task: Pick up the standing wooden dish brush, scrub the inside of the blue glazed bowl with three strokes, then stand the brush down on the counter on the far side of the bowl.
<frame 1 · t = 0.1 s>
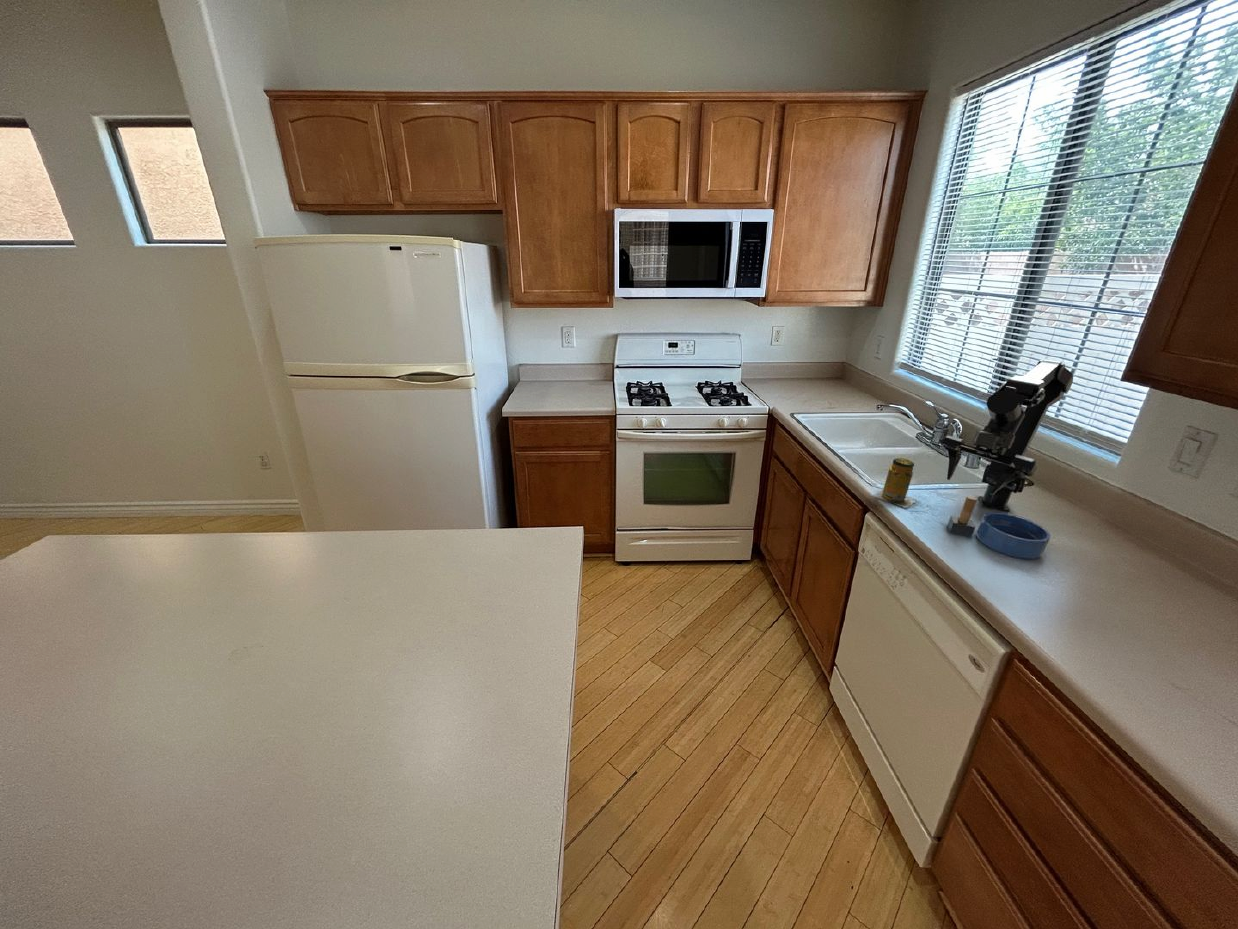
hand: (969, 486, 114), 15 cm above the counter, tool tilted 30°, fingers open, 9 cm apart
condiment: (895, 500, 139), on the counter
bowl: (1007, 544, 118), on the counter
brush: (959, 531, 124), on the counter
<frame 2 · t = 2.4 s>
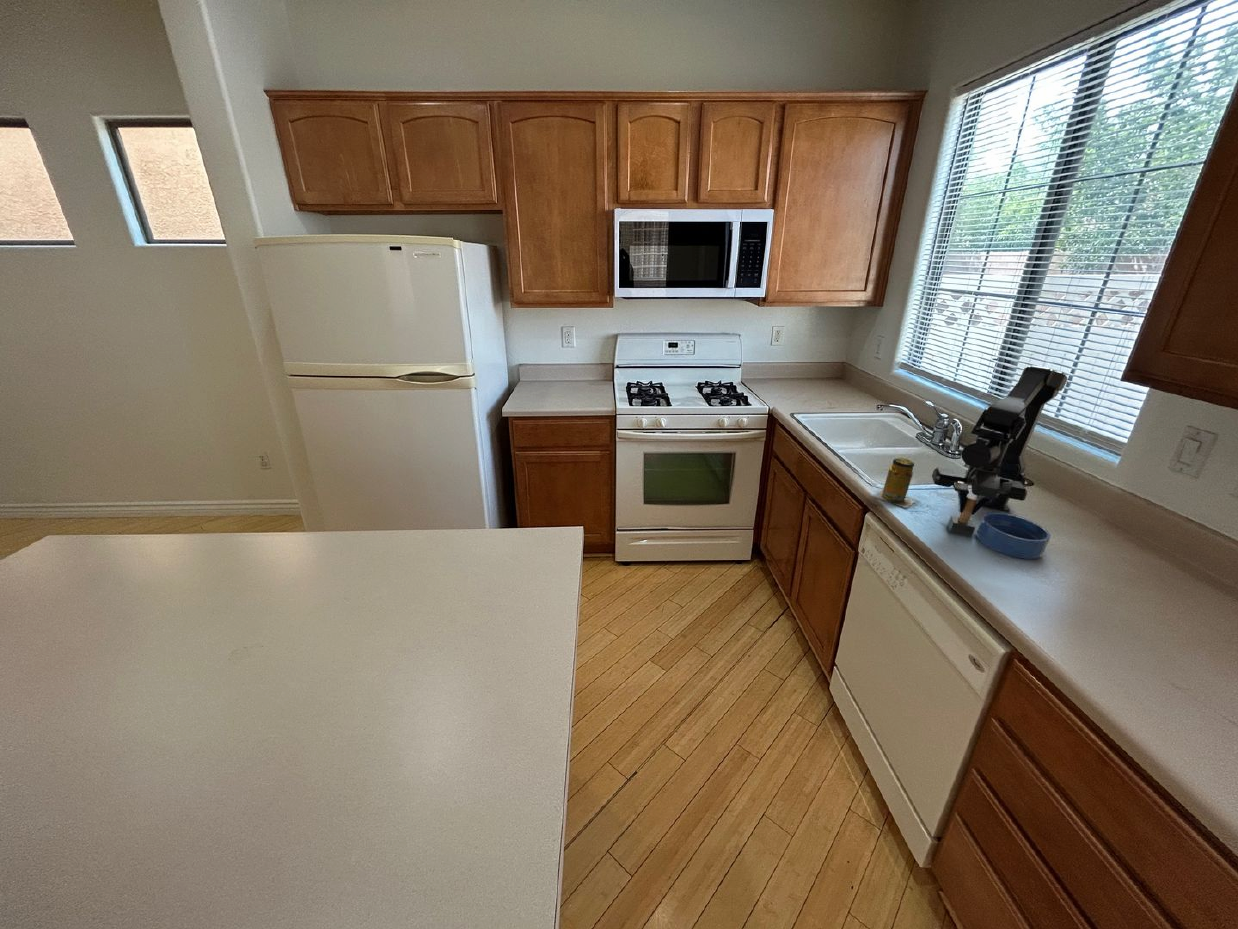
hand: (966, 512, 122), 6 cm above the counter, tool pointing down, fingers closed on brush, 2 cm apart
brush: (959, 531, 124), on the counter, touching gripper
everything else where it was.
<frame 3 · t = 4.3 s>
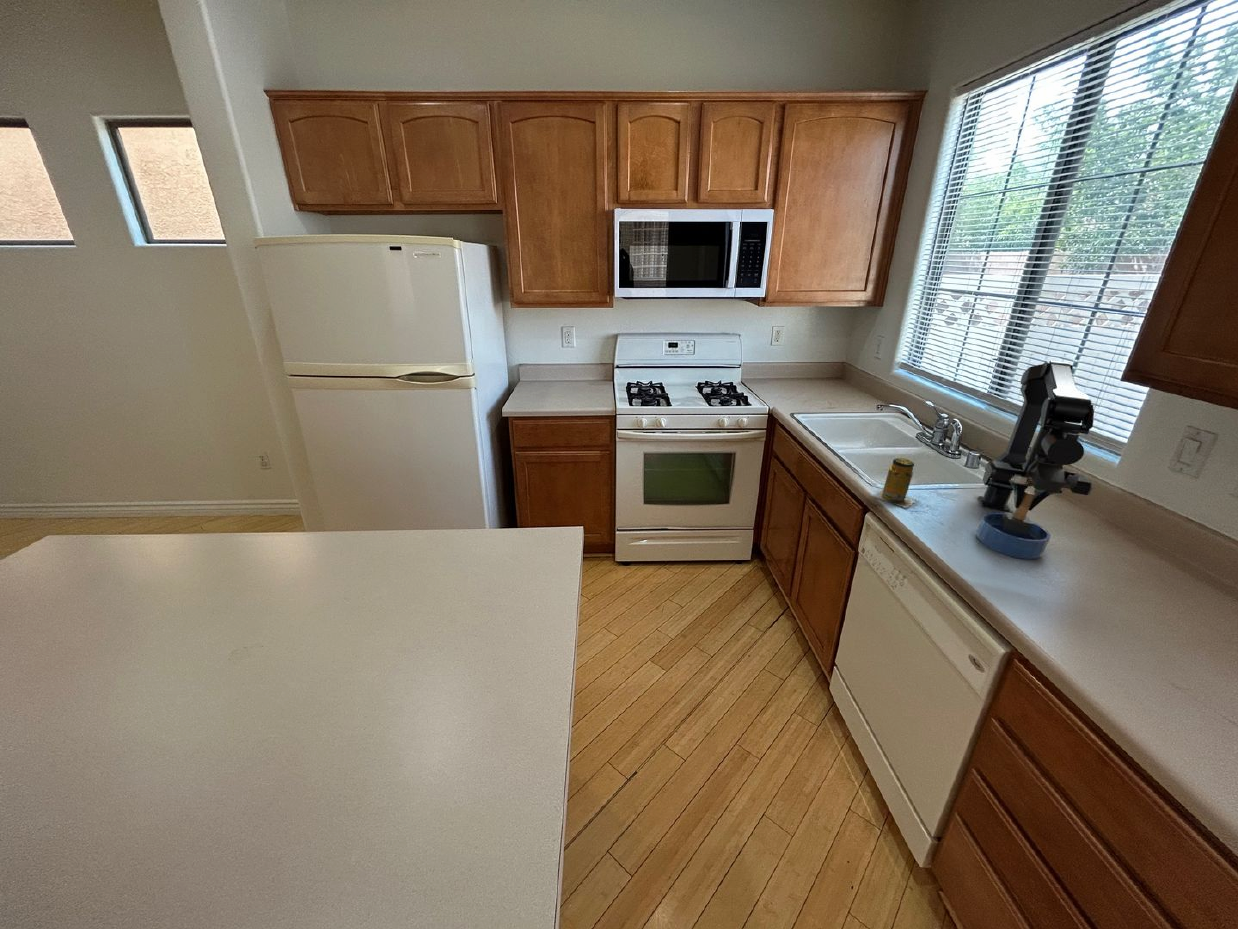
hand: (1022, 508, 114), 10 cm above the counter, tool pointing down, fingers closed on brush, 2 cm apart
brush: (1013, 528, 117), point 5 cm above the counter, touching gripper
everything else where it was.
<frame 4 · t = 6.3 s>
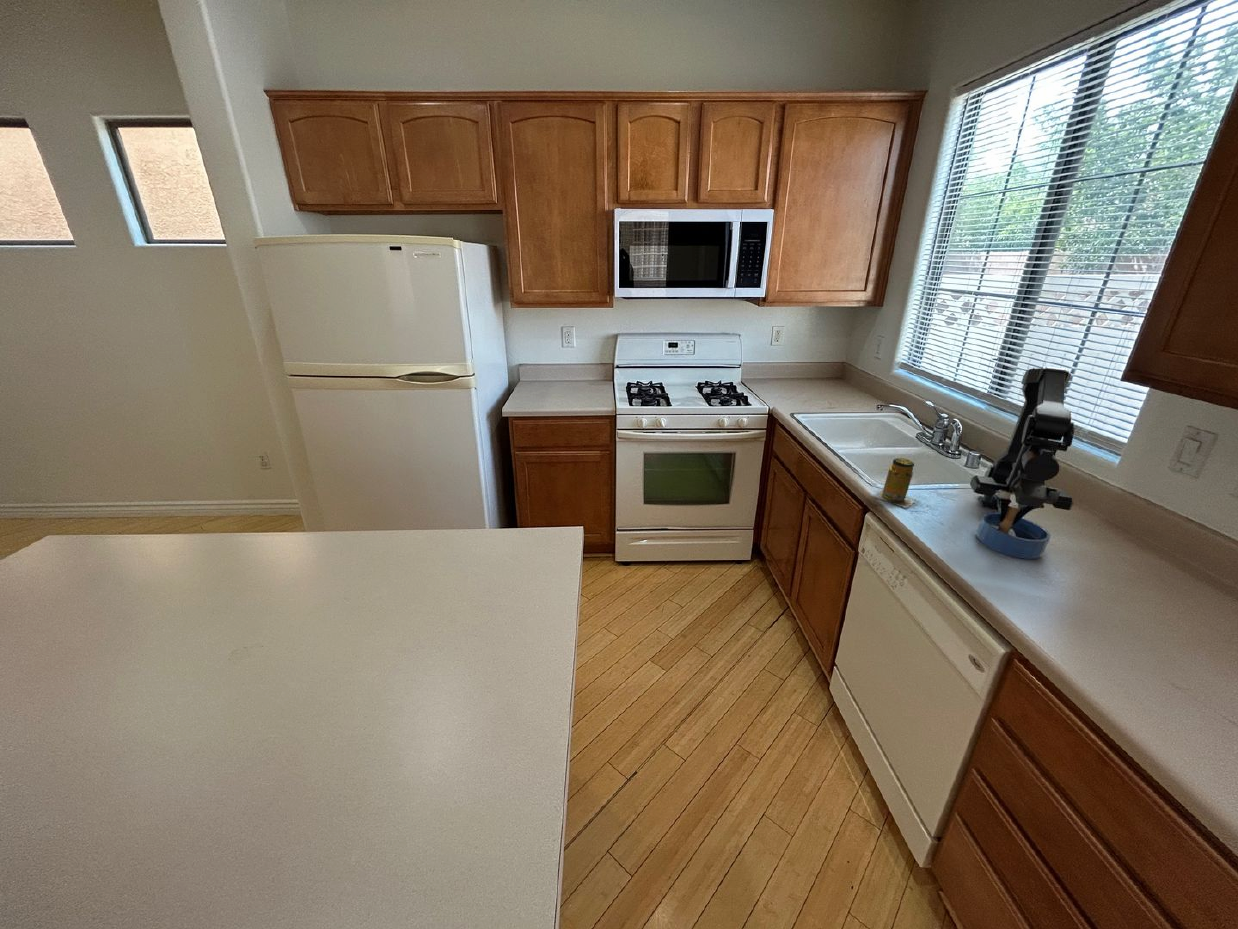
hand: (1006, 522, 117), 6 cm above the counter, tool pointing down, fingers closed on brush, 2 cm apart
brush: (998, 540, 119), point 1 cm above the counter, touching bowl, gripper
everything else where it was.
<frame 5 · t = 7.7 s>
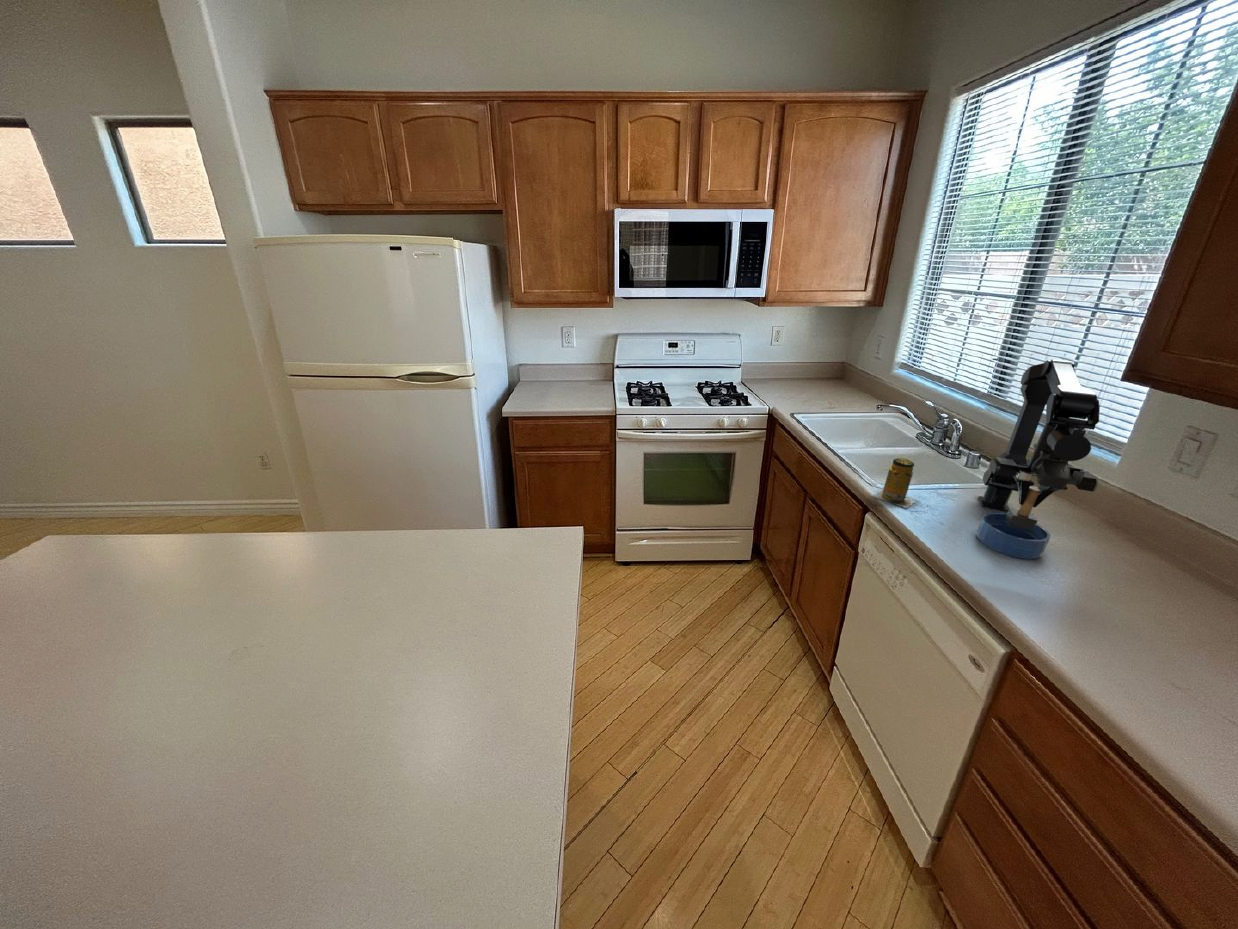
hand: (1026, 505, 113), 12 cm above the counter, tool pointing down, fingers closed on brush, 2 cm apart
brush: (1018, 524, 116), point 6 cm above the counter, touching gripper
everything else where it was.
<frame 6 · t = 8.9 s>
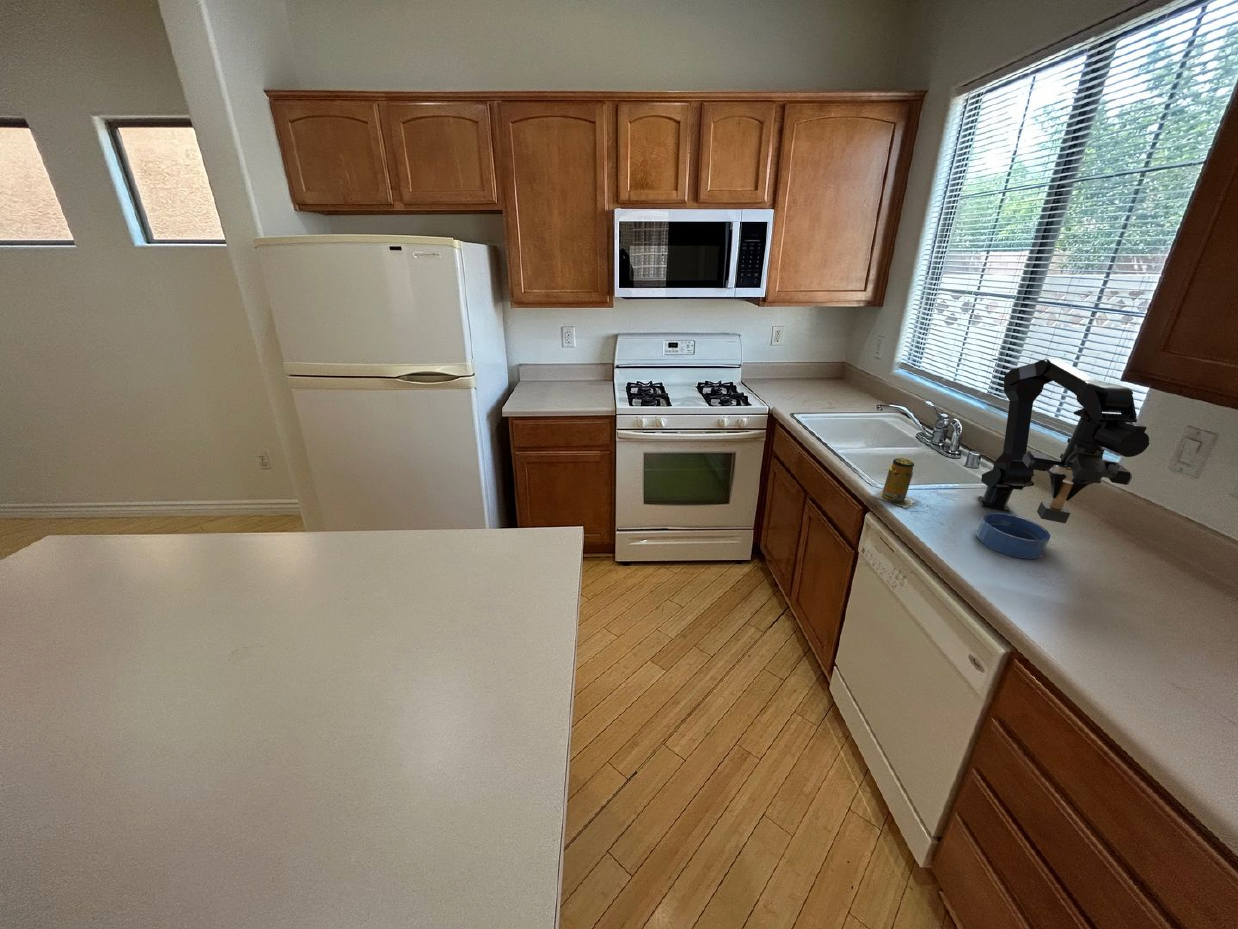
hand: (1059, 498, 116), 12 cm above the counter, tool pointing down, fingers closed on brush, 2 cm apart
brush: (1050, 517, 118), point 7 cm above the counter, touching gripper
everything else where it was.
when the fingers open (5 cm above the counter, at t = 10.7 s): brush stays where it is, on the counter.
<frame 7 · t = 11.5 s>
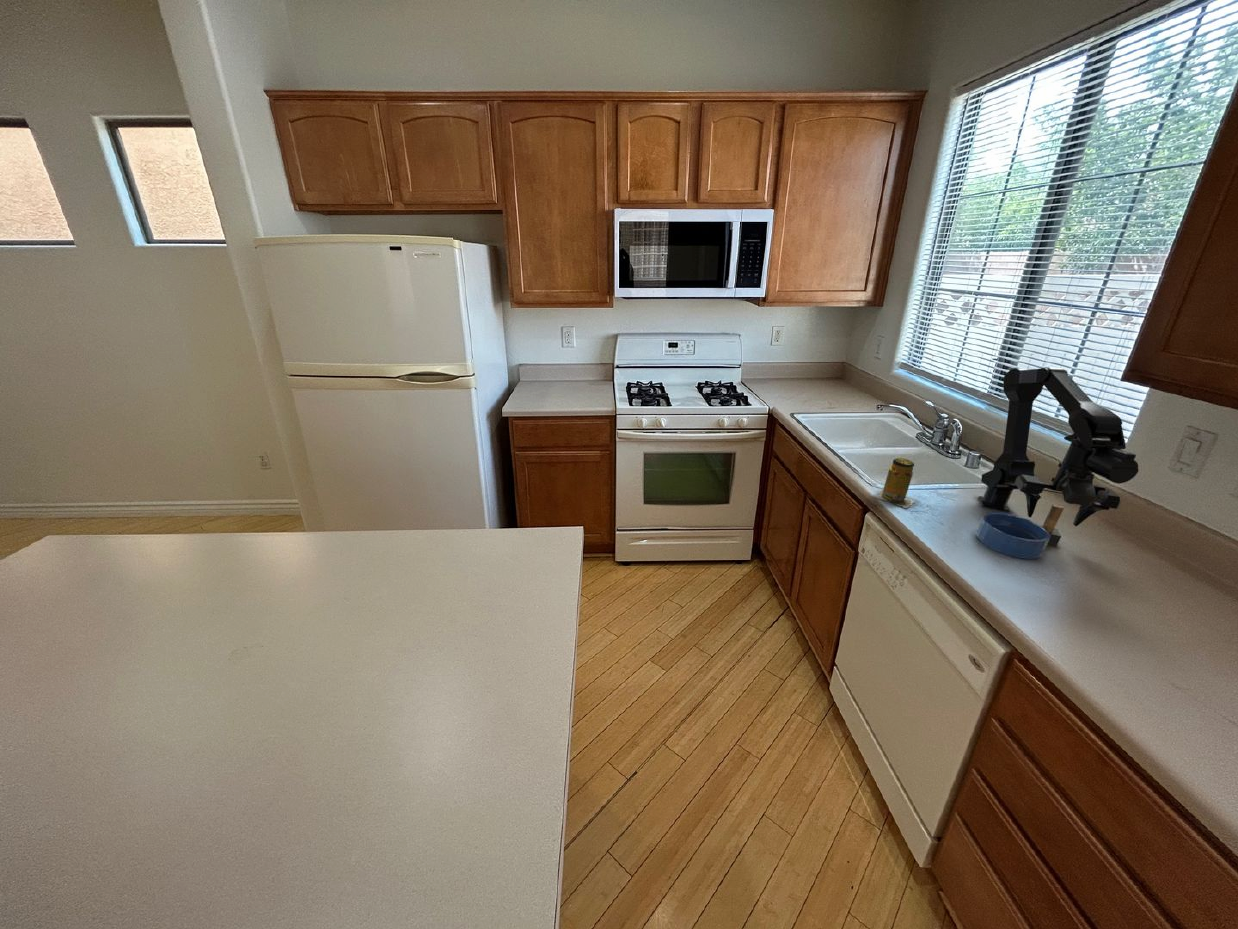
hand: (1051, 520, 119), 6 cm above the counter, tool pointing down, fingers open, 9 cm apart
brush: (1042, 539, 121), on the counter
everything else where it was.
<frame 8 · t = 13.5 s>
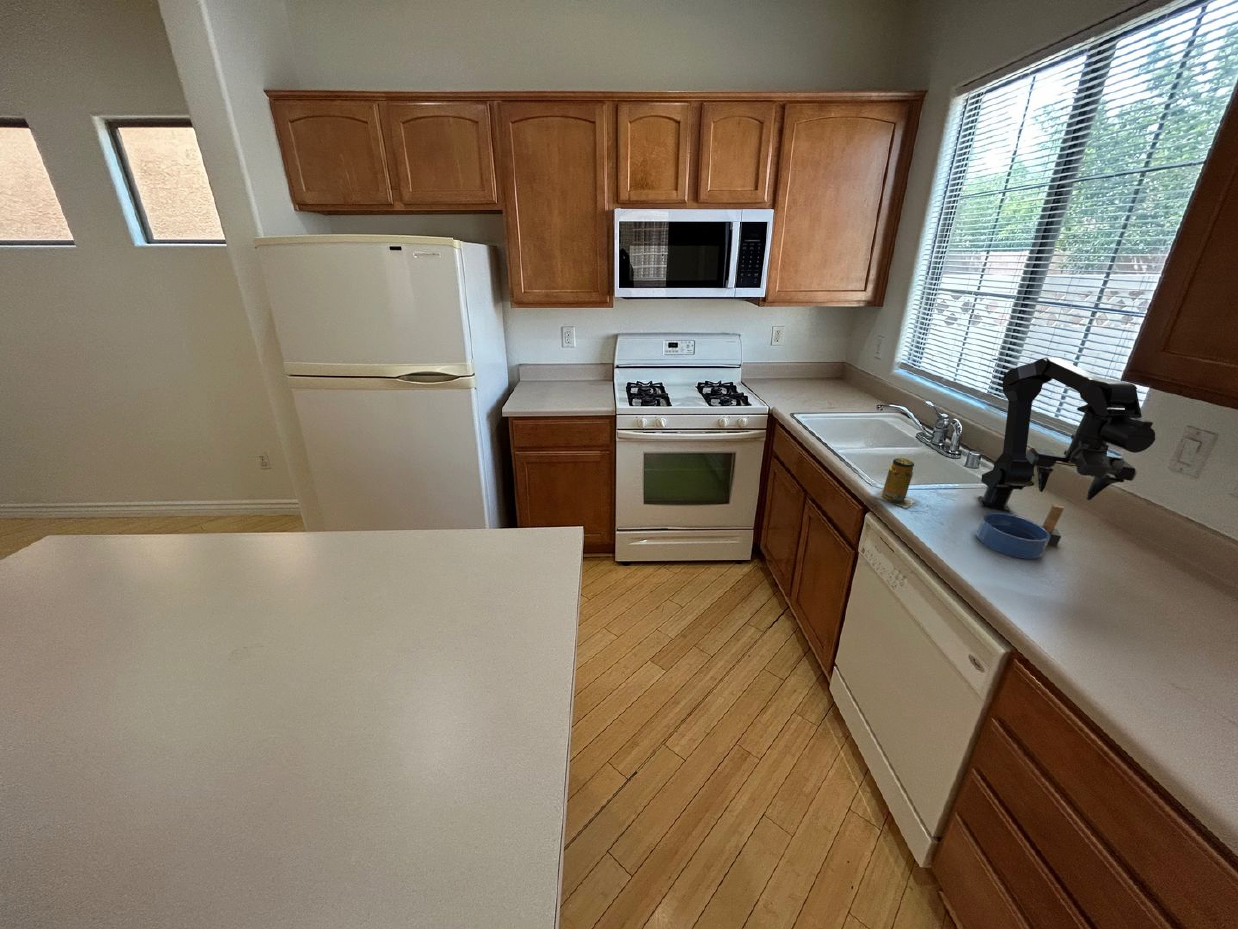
hand: (1063, 495, 116), 13 cm above the counter, tool pointing down, fingers open, 9 cm apart
nothing on the counter moved.
at the end: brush 0.0 cm from the target spot, on the counter; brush tilted 0°; the gripper is holding nothing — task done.
